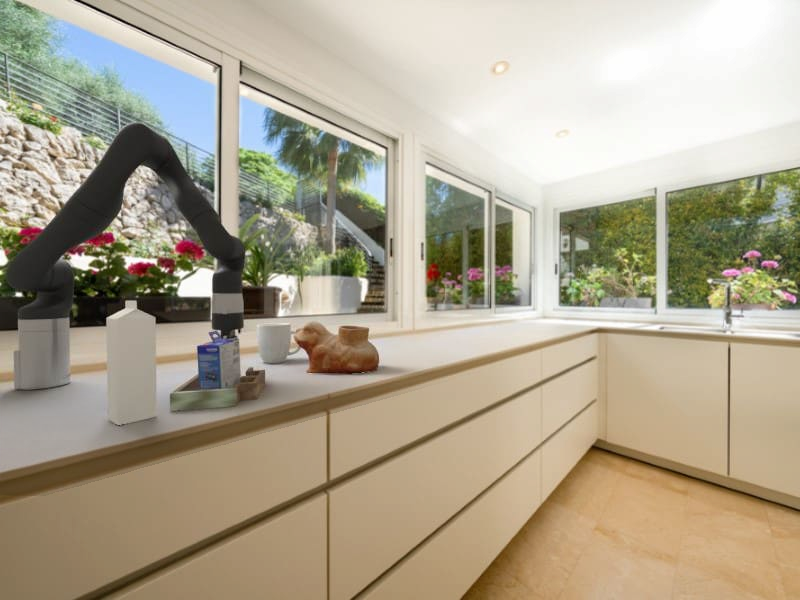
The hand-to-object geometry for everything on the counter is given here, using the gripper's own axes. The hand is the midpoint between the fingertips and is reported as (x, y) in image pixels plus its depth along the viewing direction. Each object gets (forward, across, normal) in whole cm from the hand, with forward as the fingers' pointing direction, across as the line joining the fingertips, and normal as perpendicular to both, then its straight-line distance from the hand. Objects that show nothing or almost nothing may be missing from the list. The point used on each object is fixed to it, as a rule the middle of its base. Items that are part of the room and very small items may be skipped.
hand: (228, 376), depth 91 cm
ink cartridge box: (+2, +11, 0) cm, 11 cm away
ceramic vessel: (+2, -8, +29) cm, 30 cm away
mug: (+2, -28, +10) cm, 29 cm away
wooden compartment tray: (+1, +10, +1) cm, 10 cm away
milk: (+2, +24, -12) cm, 27 cm away
